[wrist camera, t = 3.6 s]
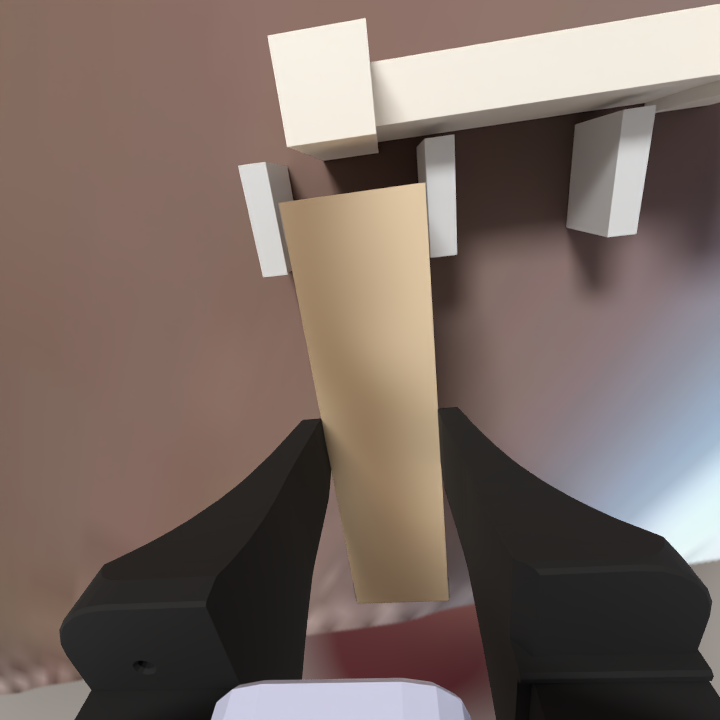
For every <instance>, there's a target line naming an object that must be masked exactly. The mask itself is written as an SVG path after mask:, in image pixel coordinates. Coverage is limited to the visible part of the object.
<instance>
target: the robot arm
mask: <svg viewBox="0 0 720 720" xmlns="http://www.w3.org/2000/svg"><path fill="white" fill-rule="evenodd" d="M438 427H439V445H440V463H441V469H442V475H443V480H444V486H445V491H446V495H447V498H448V501H449V505H450V508H451V512H452V515H453V518H454V522H455V525H456V528H457V532H458V535H459V538H460V542H461V545H462V548H463V552H464V555H465V559H466V563H467V567H468V571H469V576H470V581H471V586H472V591H473V596H474V601H475V606H476V611H477V617H478V622H479V627H480V632H481V637H482V643H483V648H484V654H485V659H486V665H487V670H488V676H489V681H490V687H491V692H492V698H493V703H494V709H495V715H496V720H720V697H719V696H718V694H717V692H716V691H715V689H714V688H713V687H712V685H711V683H710V682H709V681H712V679H713V677H714V676H713V673H712V670H711V668H710V667H709V665H708V664H707V662H706V661H705V659H704V658H703V656H702V655H701V653H700V652H699V651H698V647H699V644H700V642H701V639H702V636H703V633H704V631H705V628H706V625H707V622H708V619H709V617H710V611H711V605H712V600H711V597H710V594H709V591H708V589H707V587H706V586H705V585H704V584H703V582H702V581H701V580H700V579H699V578H698V576H697V575H696V574H695V573H694V571H693V570H692V569H691V567H690V566H689V565H688V564H687V562H686V561H685V560H684V559H683V558H682V556H681V555H680V554H679V553H678V552H677V551H676V550H675V549H674V548H673V547H672V546H671V545H670V544H669V542H668V541H667V540H666V539H665V538H664V537H662V536H660V535H657V534H654V533H652V532H649V531H647V530H644V529H641V528H639V527H636V526H634V525H631V524H629V523H626V522H623V521H621V520H618V519H616V518H614V517H611V516H609V515H607V514H605V513H603V512H600V511H598V510H596V509H594V508H592V507H590V506H588V505H586V504H584V503H582V502H580V501H578V500H576V499H574V498H572V497H570V496H568V495H566V494H565V493H563V492H561V491H559V490H557V489H556V488H554V487H552V486H550V485H549V484H547V483H546V482H544V481H542V480H541V479H539V478H538V477H536V476H535V475H533V474H532V473H530V472H529V471H527V470H526V469H524V468H523V467H521V466H520V465H519V464H517V463H516V462H515V461H513V460H512V459H511V458H510V457H509V456H507V455H506V454H505V453H504V452H502V451H501V450H500V449H499V448H498V447H497V446H496V445H494V444H493V443H492V442H491V441H490V440H489V439H488V438H487V437H486V436H485V435H484V434H483V433H482V432H481V431H480V430H479V429H478V428H477V427H476V426H475V425H474V424H473V423H472V422H471V421H470V420H469V419H468V418H467V417H466V416H465V414H464V413H463V412H462V411H461V410H460V409H459V408H458V407H454V408H442V409H438ZM330 479H331V466H330V461H329V456H328V451H327V446H326V441H325V436H324V430H323V425H322V420H321V419H310V420H302V421H301V422H300V423H299V424H298V426H297V427H296V428H295V429H294V430H293V431H292V432H291V433H290V434H289V435H288V437H287V438H286V439H285V440H284V441H283V442H282V443H281V444H280V445H279V446H278V447H277V448H276V449H275V451H274V452H273V453H272V454H271V455H270V456H269V457H268V458H267V459H266V460H265V461H264V462H262V463H261V464H260V465H259V466H258V467H257V468H256V469H255V470H254V471H253V472H252V473H251V474H250V475H249V476H248V477H247V478H245V479H244V480H243V481H242V482H241V483H240V484H238V485H237V486H236V487H235V488H233V489H232V490H231V491H230V492H228V493H227V494H226V495H225V496H223V497H222V498H221V499H219V500H218V501H217V502H215V503H214V504H212V505H211V506H209V507H208V508H206V509H205V510H203V511H202V512H200V513H199V514H197V515H196V516H194V517H193V518H192V519H190V520H188V521H187V522H185V523H183V524H182V525H180V526H178V527H177V528H175V529H173V530H172V531H170V532H168V533H166V534H165V535H163V536H161V537H159V538H157V539H156V540H154V541H152V542H150V543H148V544H146V545H144V546H142V547H140V548H138V549H136V550H134V551H132V552H130V553H128V554H126V555H124V556H122V557H120V558H117V559H115V560H113V561H111V562H109V563H107V564H105V565H104V566H103V567H102V568H101V570H100V571H99V572H98V574H97V575H96V576H95V578H94V579H93V580H92V582H91V583H90V585H89V586H88V587H87V589H86V590H85V591H84V593H83V594H82V596H81V597H80V598H79V600H78V601H77V602H76V604H75V605H74V607H73V608H72V609H71V611H70V612H69V613H68V615H67V616H66V617H65V619H64V620H63V623H62V625H61V628H60V641H61V645H62V647H63V649H64V651H65V653H66V655H67V657H68V658H69V659H70V661H71V662H72V664H73V665H74V666H75V668H76V669H77V671H78V672H79V673H80V675H81V676H82V678H83V679H84V680H85V682H86V683H87V684H88V686H89V687H90V689H91V692H90V694H89V696H88V698H87V699H86V701H85V703H84V704H83V706H82V708H81V710H80V712H79V713H78V715H77V717H76V718H75V720H471V717H470V715H469V713H468V711H467V709H466V708H465V706H464V704H463V702H462V700H461V699H460V698H459V697H458V696H456V695H455V694H454V693H452V692H450V691H448V690H446V689H445V688H443V687H441V686H439V685H437V684H435V683H433V682H429V681H421V680H414V679H406V678H370V679H313V680H312V679H311V680H302V672H303V661H304V648H305V638H306V629H307V619H308V609H309V601H310V592H311V583H312V576H313V570H314V564H315V559H316V555H317V550H318V546H319V541H320V537H321V532H322V527H323V523H324V518H325V514H326V509H327V504H328V499H329V490H330Z"/></svg>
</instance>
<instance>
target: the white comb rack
mask: <svg viewBox="0 0 720 720" xmlns="http://www.w3.org/2000/svg"><path fill="white" fill-rule="evenodd" d="M268 41H269V46H270V52H271V58H272V63H273V69H274V75H275V80H276V86H277V92H278V97H279V103H280V109H281V114H282V120H283V126H284V131H285V137H286V143H287V147H289V148H291V149H294V150H297V151H299V152H302V153H304V154H307V155H309V156H312V157H315V158H317V159H320V160H322V161H326V160H333V159H340V158H347V157H354V156H361V155H367V154H374V153H379V152H378V142H383V141H390V140H396V139H403V138H410V137H417V136H424V135H430V134H437V133H444V132H451V131H458V130H464V129H471V128H478V127H485V126H492V125H498V124H505V123H512V122H519V121H526V120H532V119H539V118H546V117H553V116H560V115H566V114H573V113H580V112H587V111H594V110H600V109H607V108H614V107H621V106H628V105H634V104H641V103H645V105H644V107H638V108H631V109H624V110H621V111H617V112H614V113H611V114H608V115H604V116H601V117H598V118H595V119H591V120H588V121H585V122H582V123H578V124H575V131H574V142H573V154H572V166H571V177H570V189H569V201H568V212H567V224H566V228H570V229H575V230H579V231H583V232H587V233H591V234H596V235H600V236H604V237H614V236H623V235H631V234H636V233H637V227H638V220H639V214H640V208H641V201H642V195H643V188H644V182H645V176H646V169H647V163H648V157H649V150H650V144H651V137H652V131H653V125H654V118H655V113H659V112H665V111H672V110H679V109H686V108H693V107H700V106H707V105H712V104H716V103H720V4H716V5H710V6H704V7H698V8H692V9H686V10H680V11H674V12H668V13H662V14H656V15H651V16H645V17H639V18H633V19H627V20H621V21H615V22H609V23H603V24H597V25H591V26H585V27H579V28H573V29H567V30H561V31H555V32H549V33H543V34H537V35H531V36H525V37H519V38H513V39H507V40H501V41H495V42H489V43H483V44H477V45H472V46H466V47H460V48H454V49H448V50H442V51H436V52H430V53H424V54H418V55H412V56H406V57H400V58H394V59H388V60H382V61H376V62H370V58H369V48H368V38H367V28H366V19H365V18H364V19H358V20H353V21H347V22H341V23H336V24H330V25H325V26H319V27H313V28H308V29H302V30H297V31H291V32H286V33H280V34H274V35H269V36H268ZM416 149H417V166H418V183H425V182H427V194H428V212H429V226H428V241H429V256H430V258H433V257H442V256H451V255H457V226H456V182H455V138H454V134H453V135H446V136H439V137H433V138H426V139H424V140H423V141H422V142H421V143H420V144H419V145H418V146H417V147H416ZM238 168H239V172H240V176H241V181H242V185H243V190H244V194H245V199H246V203H247V207H248V212H249V216H250V221H251V225H252V230H253V234H254V238H255V243H256V247H257V252H258V256H259V261H260V265H261V270H262V274H263V277H270V276H278V275H287V274H289V273H290V272H291V271H292V267H291V262H290V257H289V252H288V247H287V244H286V241H285V236H284V231H283V226H282V221H281V216H280V211H279V206H278V203H282V202H289V201H293V195H292V190H291V184H290V179H289V173H288V167H287V166H284V165H279V164H273V163H268V162H262V163H255V164H248V165H241V166H238Z"/></svg>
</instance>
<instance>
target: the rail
mask: <svg viewBox="0 0 720 720" xmlns="http://www.w3.org/2000/svg"><path fill="white" fill-rule="evenodd" d="M278 206H279V211H280V216H281V221H282V226H283V231H284V236H285V241H286V244H287V247H288V252H289V257H290V262H291V267H292V272H293V277H294V282H295V287H296V293H297V298H298V303H299V308H300V313H301V318H302V323H303V328H304V333H305V338H306V343H307V349H308V354H309V359H310V364H311V369H312V374H313V379H314V384H315V389H316V394H317V400H318V405H319V410H320V415H321V420H322V425H323V430H324V435H325V440H326V445H327V450H328V456H329V461H330V466H331V471H332V476H333V481H334V486H335V491H336V496H337V501H338V506H339V512H340V517H341V522H342V527H343V532H344V537H345V542H346V547H347V552H348V557H349V563H350V568H351V573H352V578H353V586H354V591H355V596H356V601H357V603H358V604H362V603H393V602H424V601H449V598H450V596H449V580H448V574H447V561H446V543H445V526H444V508H443V490H442V472H441V463H440V445H439V427H438V401H437V384H436V366H435V348H434V330H433V312H432V295H431V277H430V259H429V241H428V226H429V212H428V194H427V182H425V183H416V184H409V185H401V186H394V187H387V188H380V189H373V190H366V191H359V192H351V193H344V194H337V195H330V196H323V197H316V198H309V199H302V200H295V201H289V202H282V203H278Z"/></svg>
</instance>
